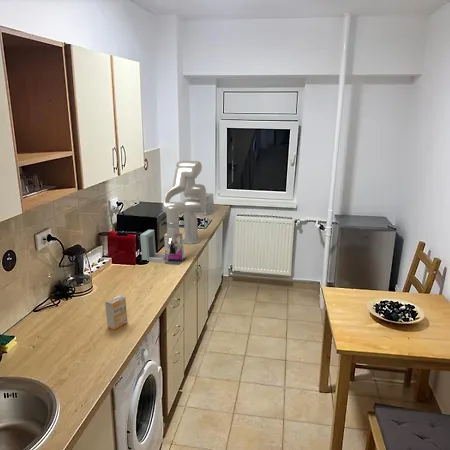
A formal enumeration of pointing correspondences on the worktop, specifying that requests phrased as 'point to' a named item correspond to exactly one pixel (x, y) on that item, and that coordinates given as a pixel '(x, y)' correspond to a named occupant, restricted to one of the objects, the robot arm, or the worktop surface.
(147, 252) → the dispenser
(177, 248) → the candy bar box
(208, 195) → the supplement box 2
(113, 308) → the supplement box
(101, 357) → the worktop surface
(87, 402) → the worktop surface
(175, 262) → the mat
